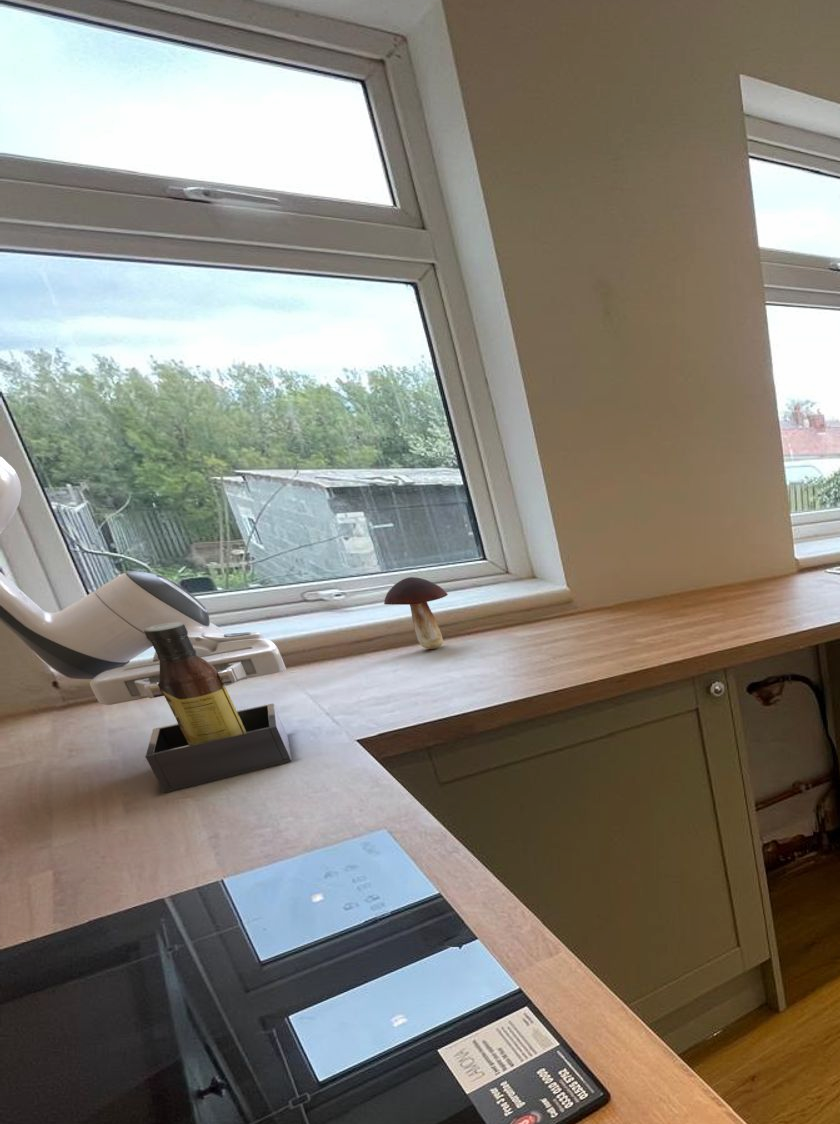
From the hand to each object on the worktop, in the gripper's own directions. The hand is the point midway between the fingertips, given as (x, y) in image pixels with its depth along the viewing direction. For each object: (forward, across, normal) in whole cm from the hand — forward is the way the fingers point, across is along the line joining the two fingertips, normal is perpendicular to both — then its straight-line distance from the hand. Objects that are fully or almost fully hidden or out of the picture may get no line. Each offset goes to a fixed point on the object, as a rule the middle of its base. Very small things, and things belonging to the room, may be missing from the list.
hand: (191, 684), depth 112 cm
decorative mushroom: (-47, +32, +12) cm, 58 cm away
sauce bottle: (-1, 0, +12) cm, 12 cm away
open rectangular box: (-1, 0, +12) cm, 12 cm away
